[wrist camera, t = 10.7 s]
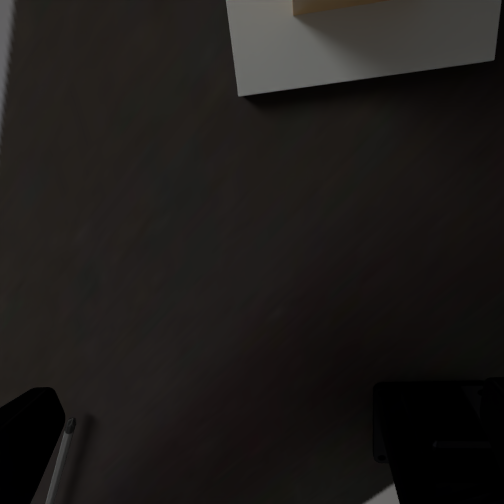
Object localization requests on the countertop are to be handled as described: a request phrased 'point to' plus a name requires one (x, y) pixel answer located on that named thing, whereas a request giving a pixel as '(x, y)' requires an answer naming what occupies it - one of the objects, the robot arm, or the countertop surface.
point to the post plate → (355, 41)
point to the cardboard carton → (325, 5)
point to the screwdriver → (61, 460)
